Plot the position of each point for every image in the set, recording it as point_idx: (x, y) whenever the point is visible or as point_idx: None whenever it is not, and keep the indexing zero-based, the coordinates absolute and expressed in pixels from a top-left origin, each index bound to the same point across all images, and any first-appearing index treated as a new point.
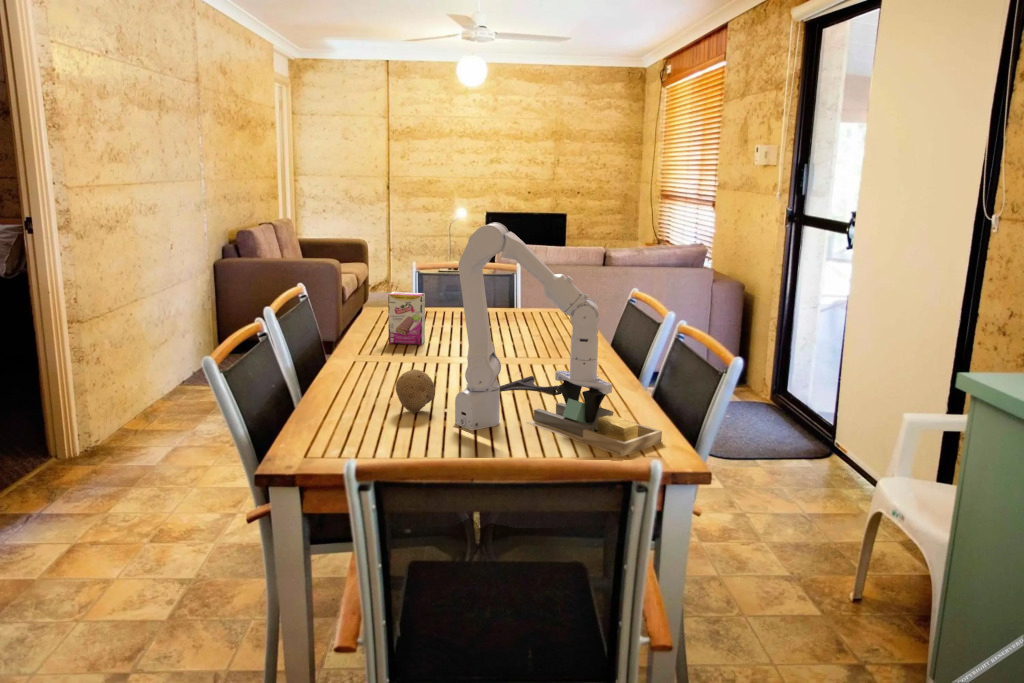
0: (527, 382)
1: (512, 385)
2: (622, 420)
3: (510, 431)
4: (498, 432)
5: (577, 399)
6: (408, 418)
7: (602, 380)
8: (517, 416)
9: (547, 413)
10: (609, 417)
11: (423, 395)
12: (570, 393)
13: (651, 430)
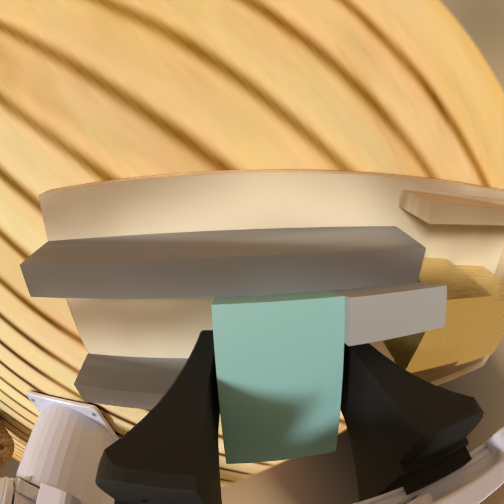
0: None
1: None
2: (485, 314)
3: (131, 417)
4: (127, 430)
5: (209, 399)
6: (22, 435)
7: (484, 497)
8: (19, 333)
9: (144, 405)
10: (441, 335)
11: (6, 454)
12: (218, 477)
13: None
